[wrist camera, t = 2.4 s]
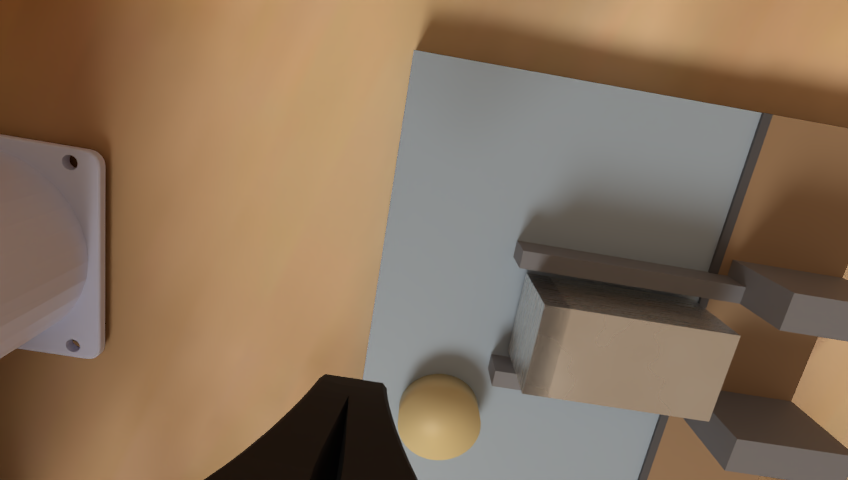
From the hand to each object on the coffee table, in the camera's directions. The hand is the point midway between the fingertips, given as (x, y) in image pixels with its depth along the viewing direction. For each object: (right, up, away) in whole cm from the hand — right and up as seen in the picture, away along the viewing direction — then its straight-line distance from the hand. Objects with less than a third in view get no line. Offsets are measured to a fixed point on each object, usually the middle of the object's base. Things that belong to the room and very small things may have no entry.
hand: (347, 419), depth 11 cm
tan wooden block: (+8, +1, +8) cm, 11 cm away
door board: (+8, +1, +9) cm, 12 cm away
